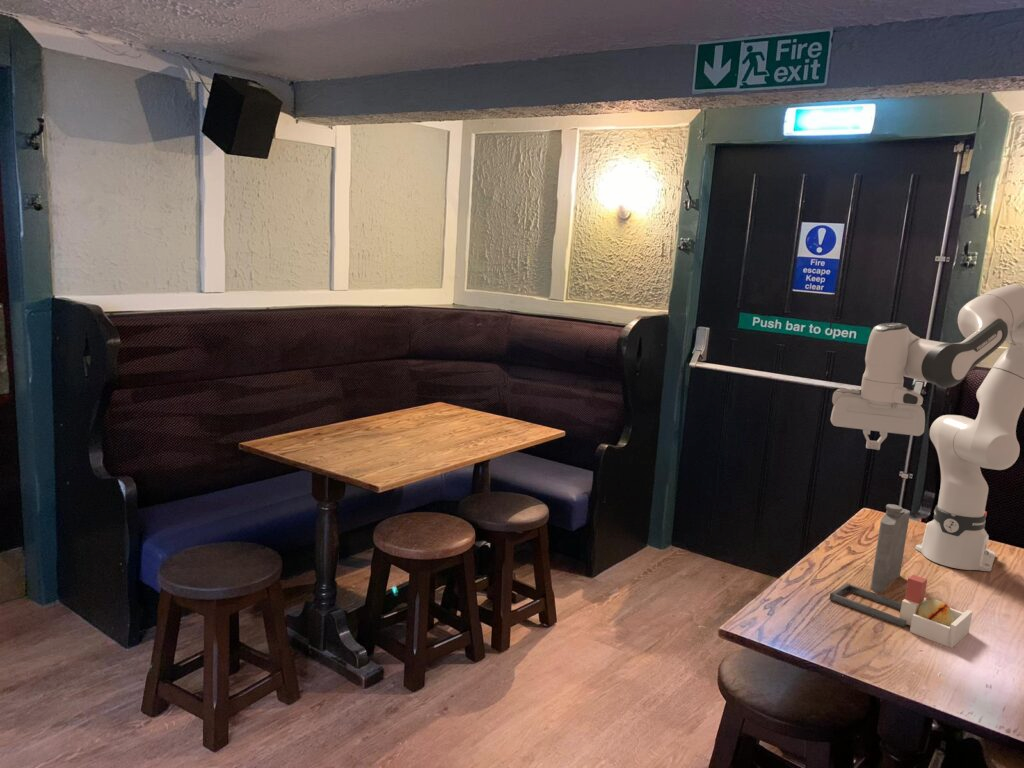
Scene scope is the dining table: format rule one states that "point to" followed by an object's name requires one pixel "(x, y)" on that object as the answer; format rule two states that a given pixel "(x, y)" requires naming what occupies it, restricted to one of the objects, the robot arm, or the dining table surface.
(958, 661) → the dining table surface
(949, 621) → the ball
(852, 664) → the dining table surface
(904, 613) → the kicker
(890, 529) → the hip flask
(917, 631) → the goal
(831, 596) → the dark grey rectangular frame
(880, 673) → the dining table surface
